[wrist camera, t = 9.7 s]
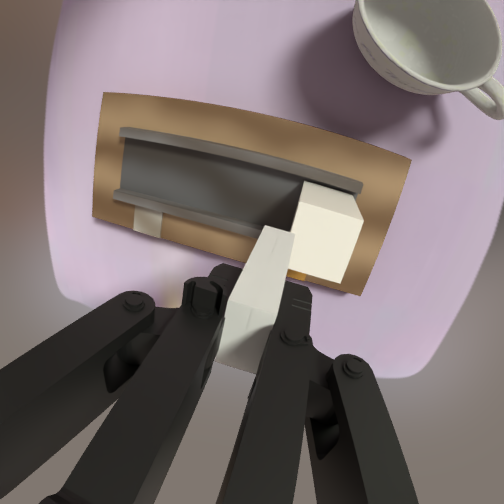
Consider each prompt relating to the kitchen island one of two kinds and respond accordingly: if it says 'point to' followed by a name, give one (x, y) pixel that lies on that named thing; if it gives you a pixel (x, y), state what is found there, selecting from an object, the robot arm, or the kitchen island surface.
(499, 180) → the kitchen island surface
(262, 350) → the robot arm
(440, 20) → the teacup
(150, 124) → the wooden slider track
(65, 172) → the kitchen island surface
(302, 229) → the switch knob
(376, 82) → the kitchen island surface
